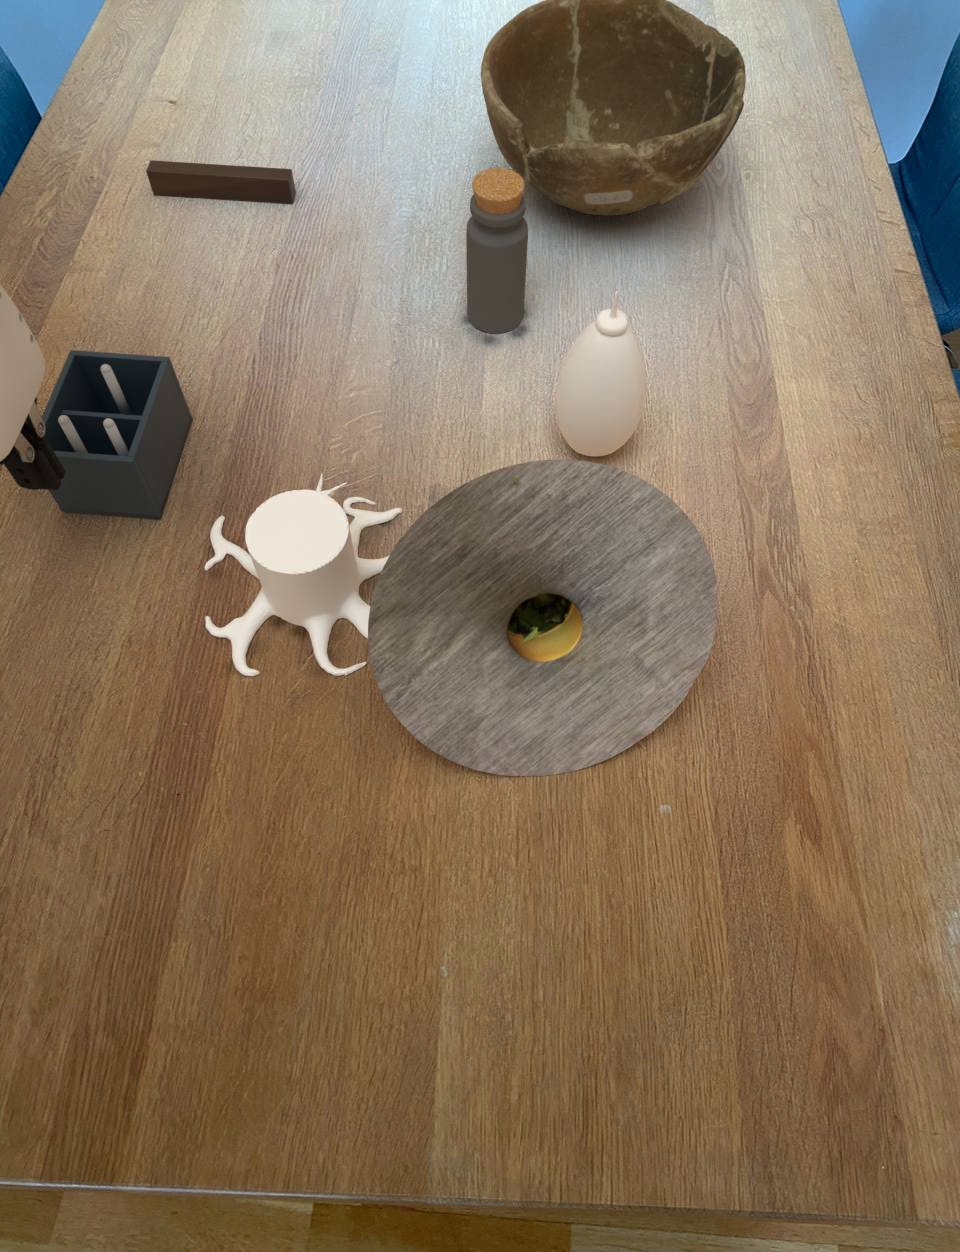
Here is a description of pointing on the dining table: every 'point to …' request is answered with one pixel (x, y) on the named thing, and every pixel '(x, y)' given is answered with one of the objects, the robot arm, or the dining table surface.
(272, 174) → the rail
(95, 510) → the cutlery holder
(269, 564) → the tree stump
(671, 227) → the dining table surface
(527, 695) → the grey flared vase
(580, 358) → the sauce bottle
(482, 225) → the bottle
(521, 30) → the bowl
